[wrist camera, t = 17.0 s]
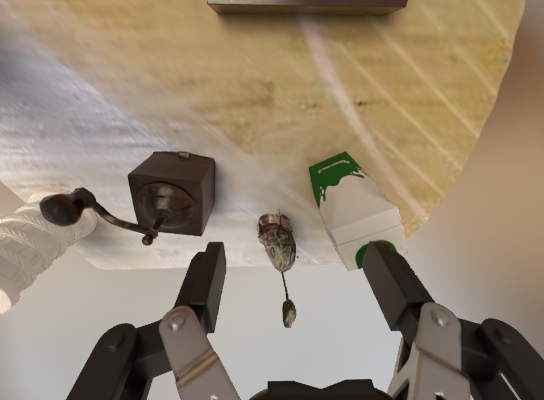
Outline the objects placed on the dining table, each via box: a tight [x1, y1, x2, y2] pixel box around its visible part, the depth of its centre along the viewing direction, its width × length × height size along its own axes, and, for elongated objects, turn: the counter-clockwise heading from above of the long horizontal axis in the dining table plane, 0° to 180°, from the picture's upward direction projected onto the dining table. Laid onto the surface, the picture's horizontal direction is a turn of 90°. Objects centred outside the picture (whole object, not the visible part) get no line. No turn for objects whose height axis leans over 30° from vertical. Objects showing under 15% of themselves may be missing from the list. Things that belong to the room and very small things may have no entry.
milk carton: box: [309, 152, 408, 271], centre depth 33 cm, size 9×9×20 cm
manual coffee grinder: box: [39, 152, 215, 246], centre depth 33 cm, size 16×11×18 cm
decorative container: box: [0, 188, 97, 314], centre depth 37 cm, size 12×12×18 cm
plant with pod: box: [257, 209, 298, 328], centre depth 39 cm, size 8×11×20 cm
